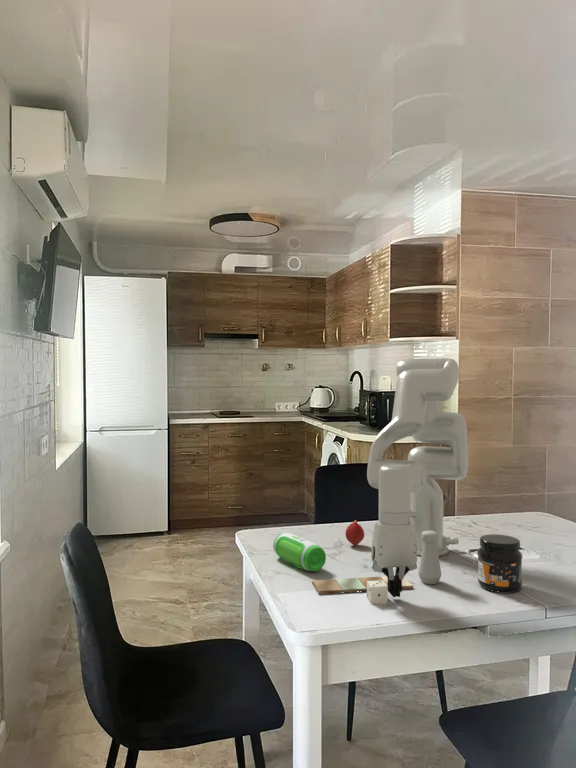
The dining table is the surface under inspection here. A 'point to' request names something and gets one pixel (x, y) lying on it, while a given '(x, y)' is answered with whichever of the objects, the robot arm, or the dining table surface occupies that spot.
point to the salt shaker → (429, 559)
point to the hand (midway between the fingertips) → (394, 594)
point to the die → (377, 592)
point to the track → (350, 584)
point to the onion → (354, 533)
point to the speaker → (299, 552)
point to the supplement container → (500, 563)
